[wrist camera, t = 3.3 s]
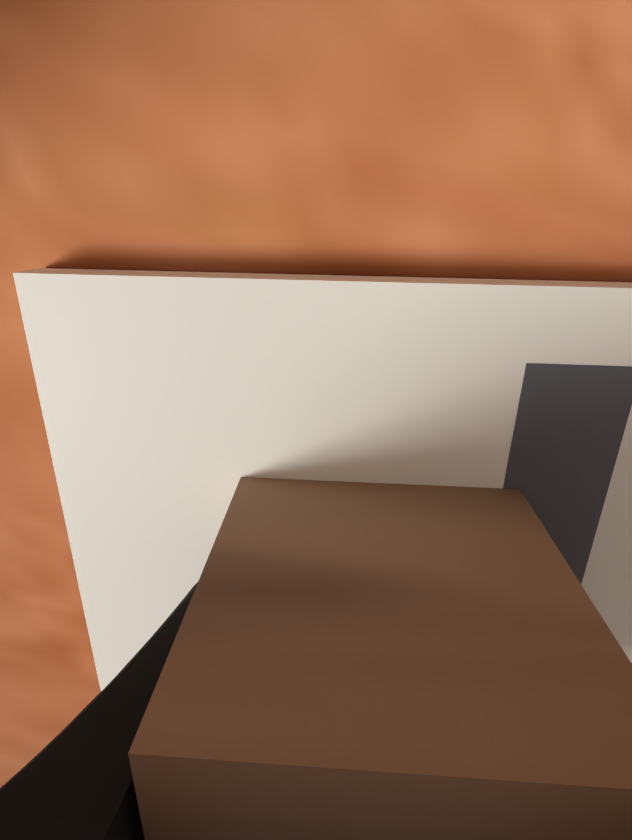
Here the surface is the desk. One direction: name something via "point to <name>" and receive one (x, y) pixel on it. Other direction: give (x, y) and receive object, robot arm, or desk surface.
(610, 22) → the desk surface
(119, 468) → the board
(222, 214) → the desk surface
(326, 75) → the desk surface
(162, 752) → the walnut block
